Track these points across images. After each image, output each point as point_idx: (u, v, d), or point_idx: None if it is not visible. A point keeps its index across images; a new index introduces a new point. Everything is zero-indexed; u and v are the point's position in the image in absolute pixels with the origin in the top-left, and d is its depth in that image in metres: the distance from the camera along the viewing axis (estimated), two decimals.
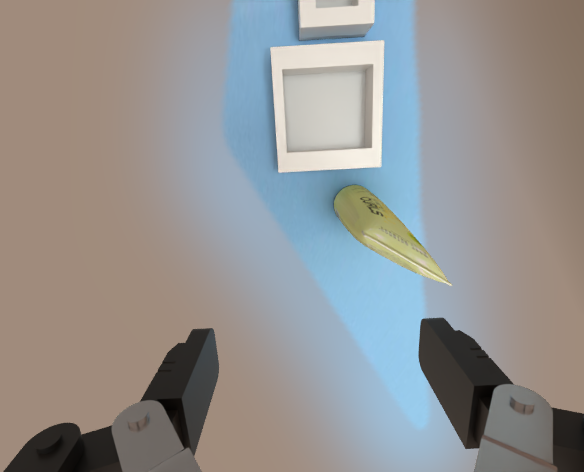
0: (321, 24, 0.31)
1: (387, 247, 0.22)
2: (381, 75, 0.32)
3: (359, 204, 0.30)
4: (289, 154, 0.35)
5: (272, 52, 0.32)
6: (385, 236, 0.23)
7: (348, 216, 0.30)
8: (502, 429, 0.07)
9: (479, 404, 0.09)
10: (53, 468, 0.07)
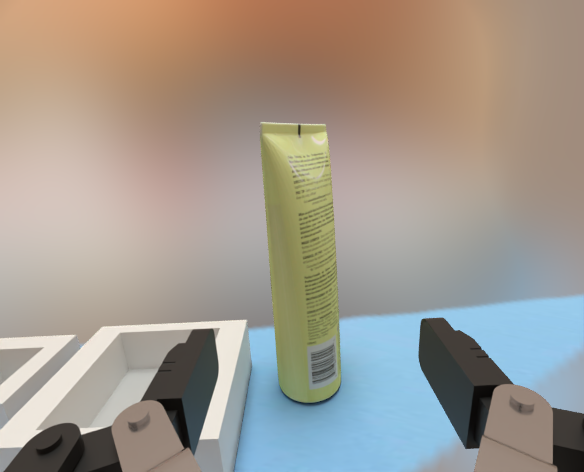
0: (25, 380, 0.21)
1: None
2: (138, 326, 0.27)
3: (270, 262, 0.22)
4: None
5: None
6: None
7: (285, 266, 0.20)
8: (502, 429, 0.07)
9: (479, 404, 0.09)
10: (53, 468, 0.07)
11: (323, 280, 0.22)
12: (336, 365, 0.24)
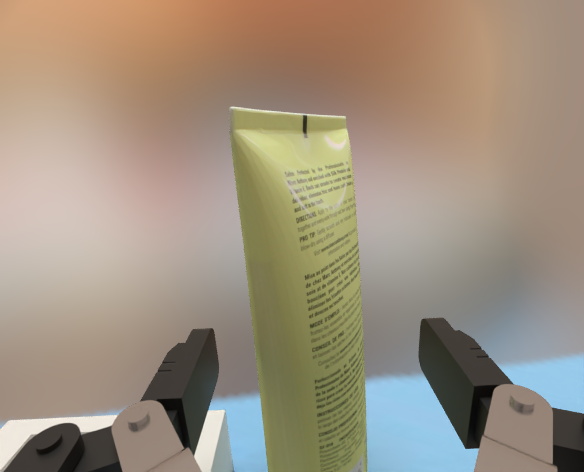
0: None
1: None
2: (62, 420, 0.18)
3: (255, 349, 0.13)
4: None
5: None
6: None
7: (281, 363, 0.12)
8: (502, 429, 0.07)
9: (479, 404, 0.09)
10: (53, 468, 0.07)
11: (346, 379, 0.13)
12: None
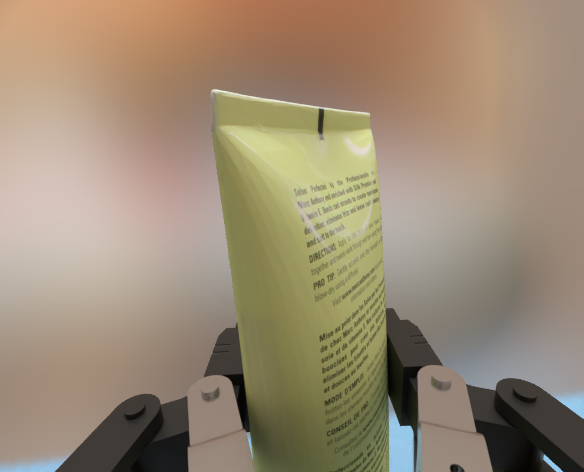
0: None
1: None
2: None
3: (249, 422, 0.09)
4: None
5: None
6: None
7: (284, 450, 0.08)
8: (416, 402, 0.08)
9: (409, 384, 0.10)
10: (144, 431, 0.08)
11: (369, 463, 0.10)
12: None
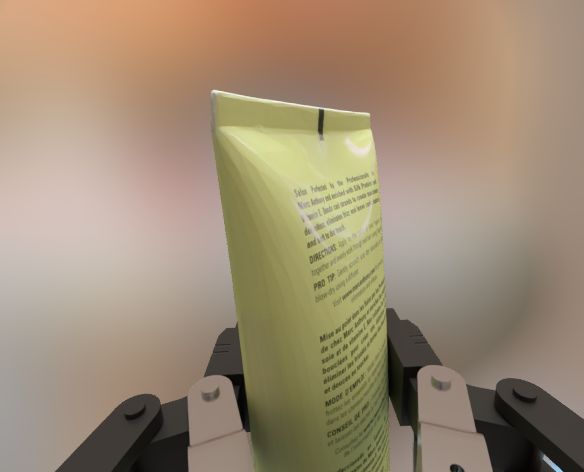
0: None
1: None
2: None
3: None
4: None
5: None
6: None
7: (284, 451, 0.08)
8: (417, 402, 0.08)
9: (409, 384, 0.10)
10: (144, 431, 0.08)
11: (370, 464, 0.10)
12: None
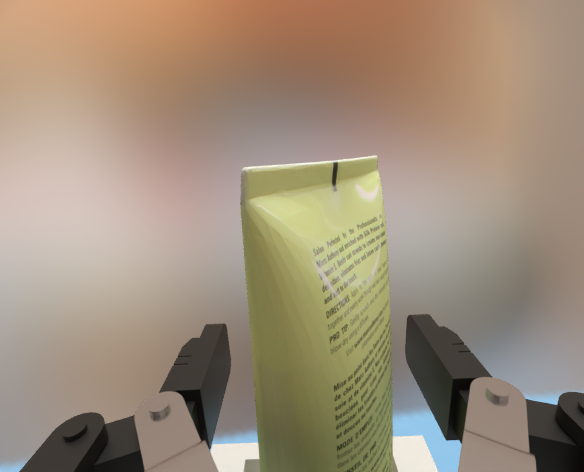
0: None
1: None
2: None
3: (260, 461, 0.10)
4: None
5: None
6: None
7: None
8: (476, 419, 0.08)
9: (458, 396, 0.09)
10: (81, 455, 0.07)
11: None
12: None
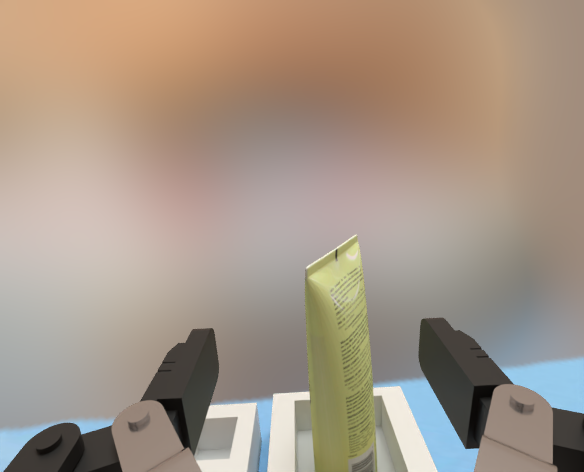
0: (248, 452, 0.25)
1: (320, 258, 0.20)
2: (305, 393, 0.31)
3: (310, 380, 0.22)
4: None
5: None
6: None
7: (327, 388, 0.21)
8: (502, 429, 0.07)
9: (479, 404, 0.09)
10: (53, 468, 0.07)
11: (363, 396, 0.22)
12: (374, 469, 0.24)
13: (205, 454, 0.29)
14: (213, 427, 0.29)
